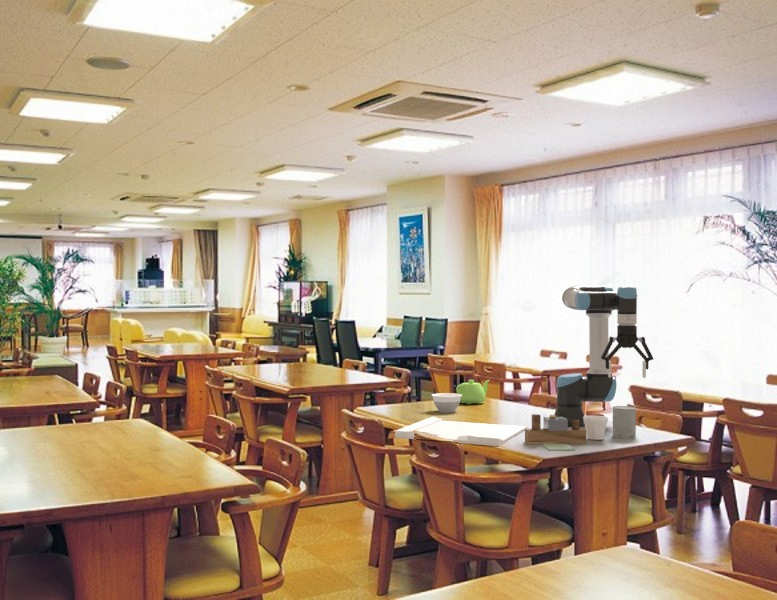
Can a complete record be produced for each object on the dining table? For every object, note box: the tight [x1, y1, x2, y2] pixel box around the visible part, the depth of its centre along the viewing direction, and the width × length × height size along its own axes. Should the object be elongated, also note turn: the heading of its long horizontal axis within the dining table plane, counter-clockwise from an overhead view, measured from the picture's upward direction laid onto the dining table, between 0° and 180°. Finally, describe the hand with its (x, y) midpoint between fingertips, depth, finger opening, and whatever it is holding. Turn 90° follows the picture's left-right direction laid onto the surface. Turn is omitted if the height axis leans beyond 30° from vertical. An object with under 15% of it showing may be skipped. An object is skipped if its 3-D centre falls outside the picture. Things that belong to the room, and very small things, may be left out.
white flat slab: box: [394, 415, 528, 447], centre depth 345 cm, size 45×45×4 cm
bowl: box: [431, 392, 462, 414], centre depth 412 cm, size 16×16×9 cm
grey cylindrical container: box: [612, 405, 637, 439], centre depth 338 cm, size 10×10×12 cm
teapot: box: [455, 379, 491, 405], centre depth 444 cm, size 22×15×13 cm
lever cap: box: [542, 414, 569, 431], centre depth 323 cm, size 7×8×6 cm
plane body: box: [524, 413, 587, 445], centre depth 323 cm, size 5×24×12 cm, turn 94°
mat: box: [541, 444, 576, 452], centre depth 311 cm, size 10×10×1 cm
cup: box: [583, 415, 609, 441], centre depth 331 cm, size 10×10×9 cm
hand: (626, 377), depth 322 cm, fingers open, 13 cm apart
